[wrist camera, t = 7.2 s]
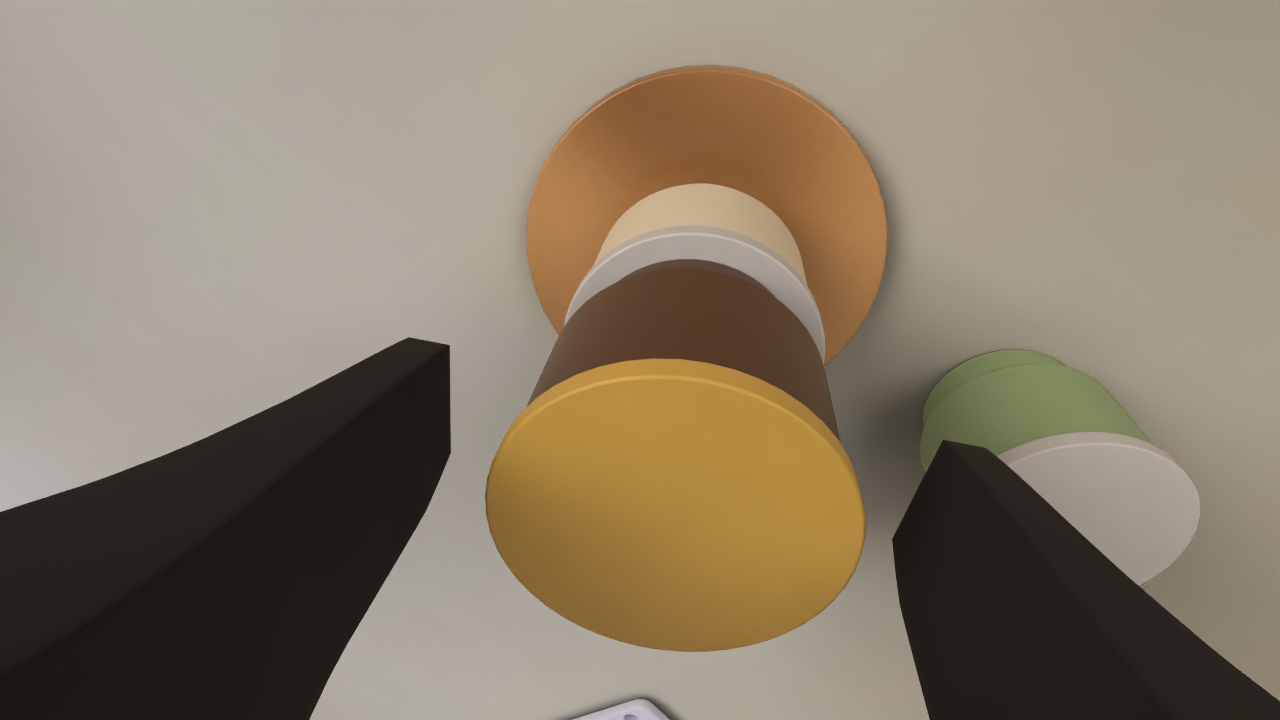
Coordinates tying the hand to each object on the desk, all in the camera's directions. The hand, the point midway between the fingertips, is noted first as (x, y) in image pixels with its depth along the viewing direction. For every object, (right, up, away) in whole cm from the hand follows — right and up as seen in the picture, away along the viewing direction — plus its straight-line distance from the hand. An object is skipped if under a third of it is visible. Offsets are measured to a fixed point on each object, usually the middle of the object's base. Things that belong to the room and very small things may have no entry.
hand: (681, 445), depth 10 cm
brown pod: (0, +1, +2) cm, 3 cm away
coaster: (+1, +4, +6) cm, 7 cm away
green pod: (+9, 0, +8) cm, 12 cm away
